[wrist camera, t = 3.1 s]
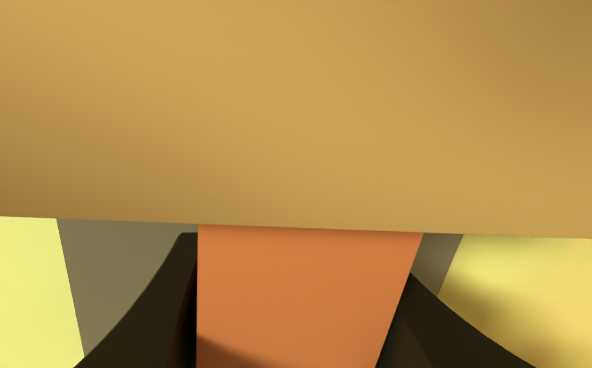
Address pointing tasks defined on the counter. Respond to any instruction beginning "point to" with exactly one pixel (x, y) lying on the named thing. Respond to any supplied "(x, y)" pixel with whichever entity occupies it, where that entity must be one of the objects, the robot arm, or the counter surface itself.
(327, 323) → the vermilion block
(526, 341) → the counter surface
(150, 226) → the slate board
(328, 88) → the oak crate
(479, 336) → the robot arm
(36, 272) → the counter surface
